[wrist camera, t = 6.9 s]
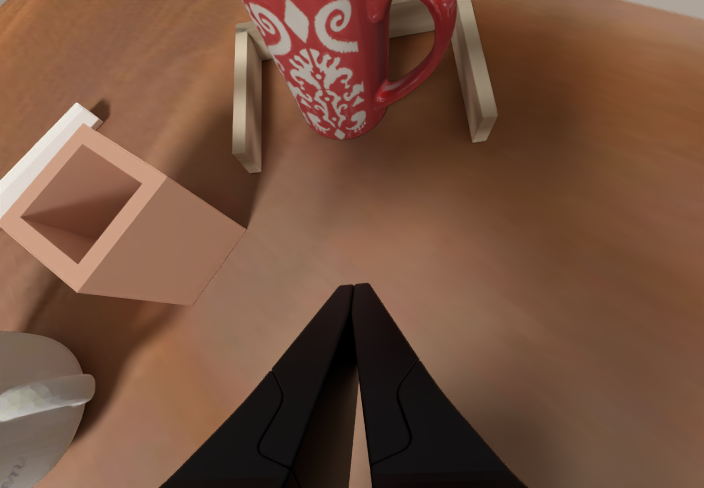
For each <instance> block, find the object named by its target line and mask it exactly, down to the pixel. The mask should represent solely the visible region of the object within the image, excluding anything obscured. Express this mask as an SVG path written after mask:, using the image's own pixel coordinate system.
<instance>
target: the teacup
mask: <svg viewBox="0 0 704 488" xmlns="http://www.w3.org/2000/svg"><path fill="white" fill-rule="evenodd" d="M94 393H95V379H94V377H93V376H92V375H90V374H83V372H82V369H81V367H80V365H79V362H78V361H77V359H76V357H75V356H74V355H73V353H72V352H71V351H70V350H69V349H68V348H67V347H66V346H64V345H63V344H61V343H60V342H58V341H56V340H54V339H51V338H48V337H45V336H41V335H35V334H29V333H20V332H8V331H0V488H32V487H33V486H34V485H36V484H37V483H38V482H39V481H40V480H41V479H42V478H44V477H45V476H46V475H47V474H48V473H49V472H50V471H51V470H52V468H53V467H54V466H55V465H56V464H57V463H58V461H59V460H60V459H61V457H62V456H63V455H64V453H65V452H66V450H67V449H68V447H69V445H70V443H71V442H72V440H73V438H74V436H75V434H76V431H77V428H78V426H79V424H80V421H81V419H82V416H83V412H84V408H85V403H86V402H88V401H90V400H91V399H92V397H93V395H94Z"/></svg>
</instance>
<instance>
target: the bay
mask: <svg viewBox="0 0 704 488" xmlns="http://www.w3.org/2000/svg"><path fill="white" fill-rule="evenodd" d="M433 30H435V26H434V21H433V18H432V15H431V14H430V12H429V10H428V8H427V7H426V5H425V4H424V3H422V2H421V1H420V0H392V3H391V7H390V24H389V38H393V37H399V36H404V35H410V34H416V33H421V32H427V31H433ZM451 41H452V46H453V51H454V56H455V61H456V65H457V70H458V75H459V80H460V85H461V90H462V94H463V99H464V104H465V109H466V114H467V119H468V123H469V128H470V133H471V138H472V143H475V142H482V141H486V140H487V138H488V136H489V134H490V131H491V129H492V127H493V125H494V123H495V121H496V119H497V117H498V112H497V108H496V104H495V100H494V96H493V91H492V87H491V83H490V79H489V75H488V71H487V66H486V62H485V58H484V54H483V50H482V45H481V41H480V37H479V33H478V29H477V24H476V20H475V16H474V12H473V8H472V4H471V0H457V16H456V23H455V28H454V31H453V35H452V38H451ZM269 59H273V57H272V55H271V54H270V52H269V50H268V48H267V46H266V44H265V43H264V41H263V39H262V37H261V35H260V33H259V31H258V29H257V27H256V26H255V24H254V22H253V21H251V22H245V23H240V24H236V42H235V74H234V107H233V139H232V155H233V156H234V157H235V158H236V159H237V160H238V161H239V162H240V163H241V164H242V166H243V167H244V168H245V169H246V170H247V171H248V172H249V173H257V172H261V134H262V61H263V60H269Z"/></svg>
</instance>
